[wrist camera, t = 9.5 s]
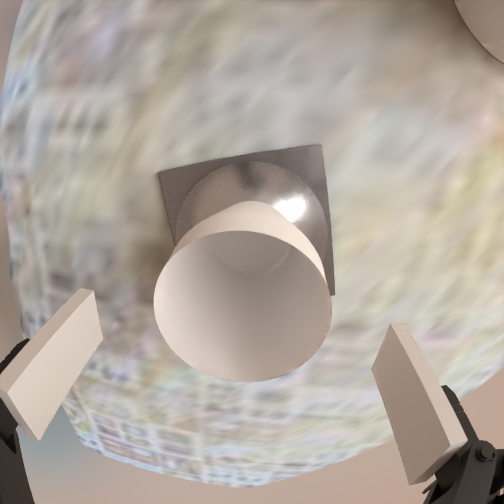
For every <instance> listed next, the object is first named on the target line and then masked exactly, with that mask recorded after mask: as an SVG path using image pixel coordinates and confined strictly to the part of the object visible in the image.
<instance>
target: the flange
mask: <svg viewBox="0 0 504 504" xmlns="http://www.w3.org/2000/svg"><path fill="white" fill-rule="evenodd" d="M158 173H159V177H160V182H161V187H162V192H163V196H164V201H165V205H166V209H167V214H168V218H169V222H170V226H171V231H172V235H173V239H174V243H175V247H176V246H177V244H178V242H179V241H180V240H181V239H182V237H183V236H184V235H185V234H186V233H187V232H188V231H189V230H191V229H192V228H193V227H194V226H196V225H197V224H198V223H200V222H201V221H203V220H205V219H207V218H209V217H211V216H212V215H214V214H216V213H218V212H220V211H222V210H224V209H226V208H228V207H230V206H232V205H234V204H237V203H240V202H244V201H259V202H263V203H266V204H268V205H271V206H272V207H274V208H275V209H277V210H278V211H279V212H280V213H281V214H283V215H284V216H285V217H286V218H287V219H288V220H289V221H290V222H291V223H292V224H294V225H295V226H296V227H297V228H298V229H299V230H300V231H301V232H302V233H303V234H304V235H305V236H306V237H307V238H308V240H309V241H310V242H311V244H312V245H313V246H314V248H315V250H316V251H317V253H318V255H319V257H320V259H321V262H322V265H323V268H324V273H325V278H326V282H327V286H328V289H329V292H330V296H332V295H335V282H334V264H333V248H332V235H331V223H330V212H329V202H328V192H327V183H326V175H325V167H324V159H323V151H322V145H313V146H304V147H295V148H287V149H280V150H273V151H266V152H259V153H253V154H246V155H240V156H234V157H229V158H223V159H218V160H212V161H207V162H202V163H197V164H192V165H187V166H183V167H178V168H174V169H169V170H165V171H161V172H158Z"/></svg>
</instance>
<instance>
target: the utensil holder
mask: <svg viewBox="0 0 504 504" xmlns="http://www.w3.org/2000/svg"><path fill="white" fill-rule="evenodd" d="M454 2H455V4H456V7H457V9H458V11H459V13H460V15H461V17H462V19H463V20H464V22H465V24H466V25H467V27H468V28H469V30H470V31H471V32H472V34H473V35H474V36H475V38H476V39H477V40H478V41H479V42H480V44H481V45H482V46H483V47H484V48H485V49H486V50H487V51H488V52H489V53H490V54H491V55H493V56H494V57H495V58H496V59H498V60H499V61H501V62H503V63H504V0H454Z"/></svg>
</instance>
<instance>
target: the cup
mask: <svg viewBox="0 0 504 504" xmlns="http://www.w3.org/2000/svg"><path fill="white" fill-rule="evenodd" d="M154 313H155V318H156V321H157V325H158V327H159V330H160V332H161V334H162V336H163V338H164V339H165V341H166V342H167V344H168V345H169V346H170V348H171V349H172V350H173V351H174V352H175V353H176V354H177V355H178V356H179V357H180V358H181V359H182V360H184V361H185V362H186V363H187V364H189V365H190V366H192V367H194V368H195V369H197V370H199V371H201V372H203V373H205V374H207V375H210V376H213V377H216V378H219V379H223V380H228V381H235V382H258V381H265V380H270V379H273V378H277V377H280V376H283V375H285V374H287V373H289V372H291V371H293V370H295V369H297V368H298V367H300V366H301V365H303V364H304V363H305V362H306V361H308V360H309V359H310V358H311V357H312V356H313V355H314V354H315V352H316V351H317V350H318V349H319V347H320V346H321V344H322V343H323V341H324V339H325V337H326V335H327V332H328V330H329V326H330V322H331V316H332V303H331V297H330V292H329V289H328V286H327V282H326V278H325V273H324V268H323V265H322V262H321V259H320V257H319V255H318V253H317V251H316V250H315V248H314V246H313V245H312V244H311V242H310V241H309V240H308V238H307V237H306V236H305V235H304V234H303V233H302V232H301V231H300V230H299V229H298V228H297V227H296V226H295V225H294V224H292V223H291V222H290V221H289V220H288V219H287V218H286V217H285V216H284V215H283V214H281V213H280V212H279V211H278V210H277V209H275V208H274V207H272V206H271V205H268V204H266V203H263V202H259V201H244V202H240V203H237V204H234V205H232V206H230V207H228V208H226V209H224V210H222V211H220V212H218V213H216V214H214V215H212V216H211V217H209V218H207V219H205V220H203V221H201V222H200V223H198V224H197V225H196V226H194V227H193V228H192V229H191V230H189V231H188V232H187V233H186V234H185V235H184V236H183V237H182V239H181V240H180V241H179V242H178V244H177V246H176V247H175V249H174V251H173V252H172V254H171V256H170V258H169V260H168V262H167V263H166V265H165V267H164V268H163V270H162V272H161V274H160V276H159V278H158V280H157V284H156V287H155V292H154Z"/></svg>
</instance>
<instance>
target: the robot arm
mask: <svg viewBox="0 0 504 504" xmlns="http://www.w3.org/2000/svg"><path fill="white" fill-rule="evenodd" d="M102 340H103V335H102V331H101V326H100V321H99V316H98V311H97V306H96V300H95V295H94V290H88V289H83V288H80V289H79V290H78V291H77V292H76V293H75V294H74V295H73V296H72V297H71V298H70V299H69V300H68V301H67V302H66V303H65V304H64V305H63V306H62V307H61V308H60V309H59V310H58V311H57V312H56V313H55V314H54V315H53V316H52V317H51V318H50V319H49V320H48V321H47V322H46V323H45V324H44V325H43V327H42V328H41V329H40V330H39V331H38V332H37V333H36V334H35V335H34V336H33V337H32V339H31V340H30V339H28V338H27V339H25V340H24V341H22V342H20V343H19V344H17V345H16V346H15V347H14V348H13V350H12V351H11V352H10V354H8V355H7V357H6V358H5V360H3V361H2V362H1V363H0V504H35V503H34V500H33V497H32V493H31V490H30V487H29V483H28V479H27V476H26V472H25V468H24V464H23V459H22V454H21V449H20V444H19V438H18V434H17V431H16V430H15V429H16V427H17V426H18V425H19V426H20V428H21V429H22V431H23V432H24V433H25V434H27V435H28V436H30V437H32V438H34V439H36V440H38V441H40V439H41V437H42V435H43V434H44V432H45V430H46V428H47V427H48V425H49V423H50V421H51V420H52V418H53V416H54V415H55V413H56V411H57V410H58V408H59V406H60V405H61V403H62V402H63V400H64V398H65V397H66V395H67V393H68V392H69V390H70V389H71V387H72V385H73V384H74V382H75V381H76V379H77V378H78V376H79V374H80V373H81V371H82V370H83V368H84V367H85V365H86V364H87V362H88V361H89V359H90V358H91V356H92V355H93V353H94V352H95V350H96V349H97V347H98V346H99V344H100V343H101V341H102ZM371 370H372V372H373V375H374V378H375V380H376V383H377V386H378V389H379V391H380V394H381V397H382V400H383V403H384V406H385V409H386V412H387V414H388V417H389V420H390V423H391V426H392V430H393V433H394V436H395V439H396V442H397V445H398V448H399V452H400V455H401V458H402V462H403V465H404V468H405V472H406V475H407V479H408V482H409V485H413V484H417V483H421V482H425V481H427V480H428V479H429V478H430V477H431V476H433V475H434V474H435V476H436V480H435V481H434V482H433V483H432V484H431V485H429V486H428V487H427V488H426V489H425V490H424V491H423V492H422V493H423V494H425V493H426V492H427V491H429V490H430V491H429V493H428V495H427V497H426V499H425V501H424V503H423V504H504V494H502V495H500V489H502V488H503V487H504V449H497V450H496V449H495V448H494V447H493V445H492V444H490V443H489V442H487V441H482V440H481V441H479V439H478V437H477V435H476V433H475V431H474V429H473V427H472V425H471V423H470V421H469V419H468V417H467V415H466V414H465V412H464V410H463V408H462V406H461V405H460V402H459V400H458V398H457V397H456V395H455V393H454V392H453V391H452V390H451V389H450V388H449V387H448V386H447V385H444V386H441V385H440V384H439V382H438V380H437V378H436V376H435V375H434V373H433V371H432V369H431V367H430V366H429V364H428V362H427V360H426V359H425V357H424V355H423V353H422V352H421V350H420V348H419V347H418V345H417V343H416V342H415V340H414V338H413V337H412V335H411V333H410V332H409V330H408V328H407V327H406V325H405V324H395V323H390V325H389V328H388V331H387V333H386V336H385V338H384V341H383V343H382V345H381V348H380V350H379V353H378V355H377V357H376V359H375V362H374V364H373V366H372V368H371Z"/></svg>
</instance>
